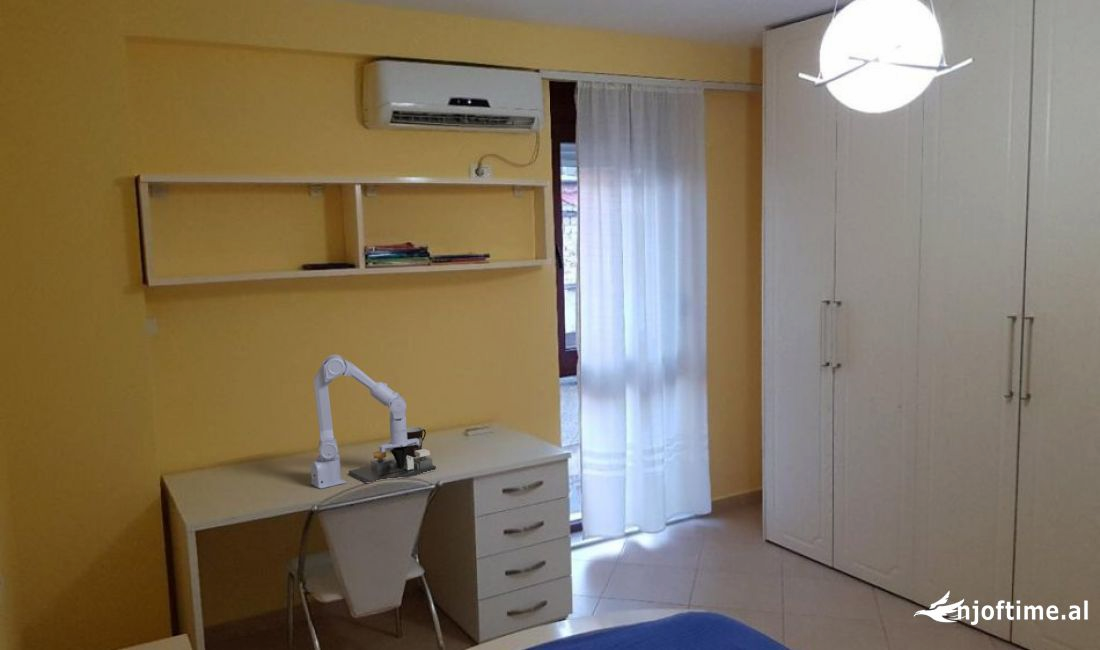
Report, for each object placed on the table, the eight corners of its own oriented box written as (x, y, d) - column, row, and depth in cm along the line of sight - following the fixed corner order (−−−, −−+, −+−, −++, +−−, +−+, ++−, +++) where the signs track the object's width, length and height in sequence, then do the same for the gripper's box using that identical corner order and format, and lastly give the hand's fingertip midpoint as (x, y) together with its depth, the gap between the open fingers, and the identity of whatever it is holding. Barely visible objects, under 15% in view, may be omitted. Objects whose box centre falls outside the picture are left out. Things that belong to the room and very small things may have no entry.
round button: (377, 465, 293) (377, 455, 292) (372, 463, 296) (371, 452, 296) (388, 463, 295) (388, 452, 295) (383, 460, 299) (382, 450, 298)
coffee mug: (407, 459, 312) (405, 433, 310) (398, 454, 319) (396, 429, 318) (435, 453, 318) (433, 428, 317) (425, 449, 325) (424, 424, 324)
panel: (371, 485, 280) (370, 474, 279) (349, 474, 294) (348, 463, 294) (436, 470, 295) (435, 459, 295) (411, 460, 309) (410, 450, 309)
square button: (420, 463, 293) (419, 453, 293) (414, 461, 296) (414, 450, 296) (430, 461, 296) (429, 450, 295) (424, 459, 299) (424, 448, 298)
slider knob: (407, 470, 290) (407, 458, 290) (402, 467, 293) (401, 456, 293) (414, 468, 292) (413, 457, 291) (408, 466, 295) (407, 455, 294)
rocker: (393, 463, 297) (392, 461, 297) (388, 461, 300) (387, 459, 300) (407, 457, 300) (407, 454, 300) (402, 455, 303) (402, 452, 303)
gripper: (385, 435, 282) (387, 474, 283) (422, 428, 291) (424, 466, 292) (375, 432, 287) (378, 470, 289) (412, 425, 296) (415, 462, 298)
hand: (400, 468), depth 291 cm, fingers closed
